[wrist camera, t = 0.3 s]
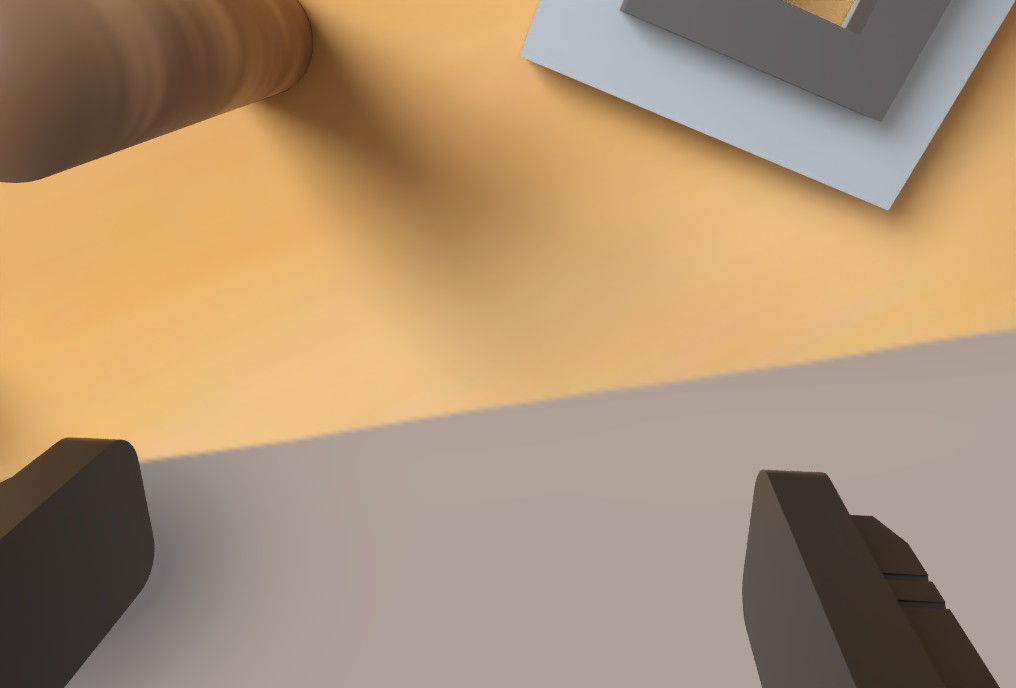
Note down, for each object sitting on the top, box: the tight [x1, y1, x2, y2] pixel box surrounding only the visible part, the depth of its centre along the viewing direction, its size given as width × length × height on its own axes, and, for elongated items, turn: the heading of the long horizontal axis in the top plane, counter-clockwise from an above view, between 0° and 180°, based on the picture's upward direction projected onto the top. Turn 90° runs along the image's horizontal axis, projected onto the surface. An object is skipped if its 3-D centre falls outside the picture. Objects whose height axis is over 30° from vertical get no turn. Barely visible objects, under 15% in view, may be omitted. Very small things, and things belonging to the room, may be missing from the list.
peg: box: [0, 0, 313, 183], centre depth 21 cm, size 4×4×15 cm
